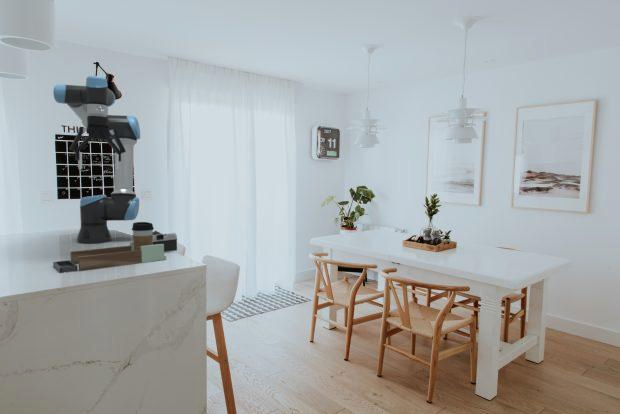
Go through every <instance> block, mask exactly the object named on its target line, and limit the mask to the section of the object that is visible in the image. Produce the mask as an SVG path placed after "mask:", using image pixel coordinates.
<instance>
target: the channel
mask: <svg viewBox="0 0 620 414" xmlns="http://www.w3.org/2000/svg"><path fill="white" fill-rule="evenodd" d="M70 261H72V262H73V263H74V264H76V265H78V271H79V272H82V271H90V270H91V271H92V270H98V269H105V268H113V267H120V266H128V265H129V266H130V265H136V264H142V250H135V251H131V246H130V245H124V246H121V245H120V246H113V247H112V246H111V247H104V248H103V247H102V248H101V247H100V248H93V249H84V250H83V249H82V250H73V251H70Z"/></svg>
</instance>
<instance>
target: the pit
mask: <svg viewBox="0 0 620 414" xmlns="http://www.w3.org/2000/svg"><path fill="white" fill-rule="evenodd" d="M52 265H53V266H52V267H53V268H54V269H55V270H56V271H57V272H58V273H59V274H64V272H65V273H73V272H78V271H79V266H78V264H74V263H73V262H72V261H71V259H67V260H59V261H53V262H52Z"/></svg>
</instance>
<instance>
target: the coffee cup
mask: <svg viewBox="0 0 620 414" xmlns="http://www.w3.org/2000/svg"><path fill="white" fill-rule="evenodd" d="M153 230H154V225H153V223H152V222H148V221H147V222H146V221H138V222H133V223H132V228H131V231H132V240H133V241H132V242H134V249H135V250H140V246H147V245H152V240H153V232H154V231H153Z"/></svg>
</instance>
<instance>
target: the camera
mask: <svg viewBox="0 0 620 414" xmlns="http://www.w3.org/2000/svg"><path fill="white" fill-rule="evenodd" d="M177 237H178V235H177V234H176V232H170V233H162V232H160V231H157V230H154V231H153V245H157V244H164V254H165V253H171V252H177V251H178V238H177Z"/></svg>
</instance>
